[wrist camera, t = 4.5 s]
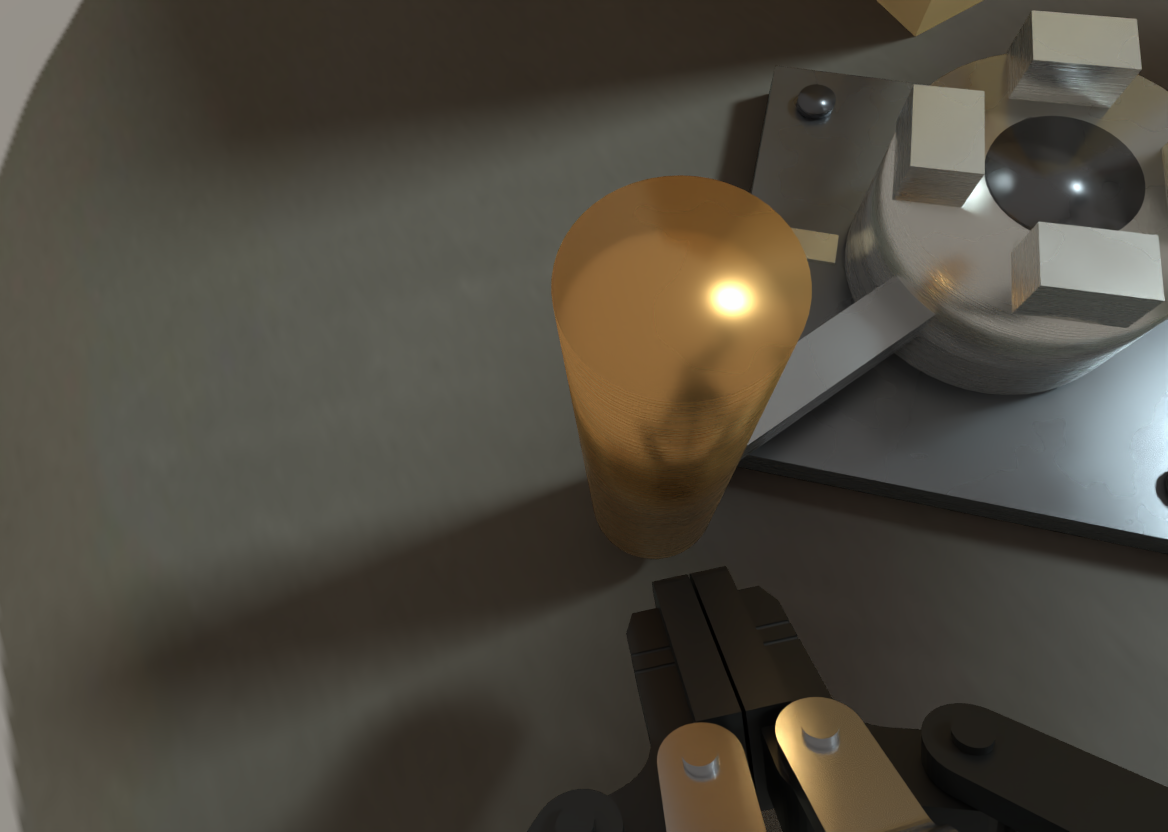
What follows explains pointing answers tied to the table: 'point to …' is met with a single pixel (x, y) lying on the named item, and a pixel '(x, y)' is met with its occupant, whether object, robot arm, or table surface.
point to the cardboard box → (925, 12)
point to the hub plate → (932, 407)
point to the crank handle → (870, 274)
